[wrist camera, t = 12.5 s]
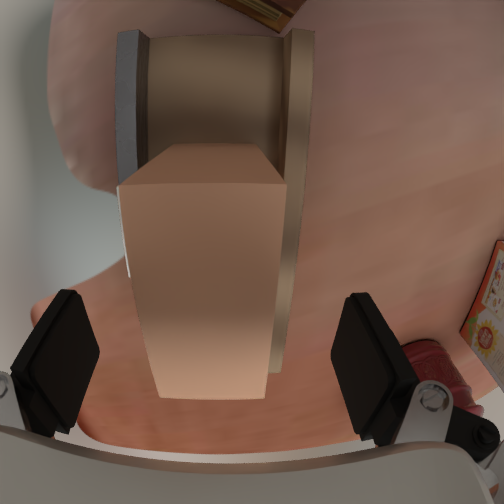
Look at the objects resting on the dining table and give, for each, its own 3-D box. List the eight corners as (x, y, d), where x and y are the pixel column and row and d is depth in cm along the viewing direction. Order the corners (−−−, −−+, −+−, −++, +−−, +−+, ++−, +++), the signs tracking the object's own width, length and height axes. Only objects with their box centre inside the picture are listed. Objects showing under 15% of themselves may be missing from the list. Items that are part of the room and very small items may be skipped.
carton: (256, 144, 18) (287, 184, 9) (249, 284, 22) (264, 398, 13) (171, 144, 17) (114, 185, 8) (179, 284, 22) (157, 397, 13)
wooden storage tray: (139, 49, 16) (112, 33, 11) (293, 48, 17) (314, 31, 12) (159, 328, 27) (149, 372, 22) (271, 329, 28) (280, 372, 23)
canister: (456, 329, 32) (523, 428, 16) (422, 391, 38) (466, 479, 22) (374, 346, 31) (436, 480, 15) (349, 409, 37) (383, 516, 21)
